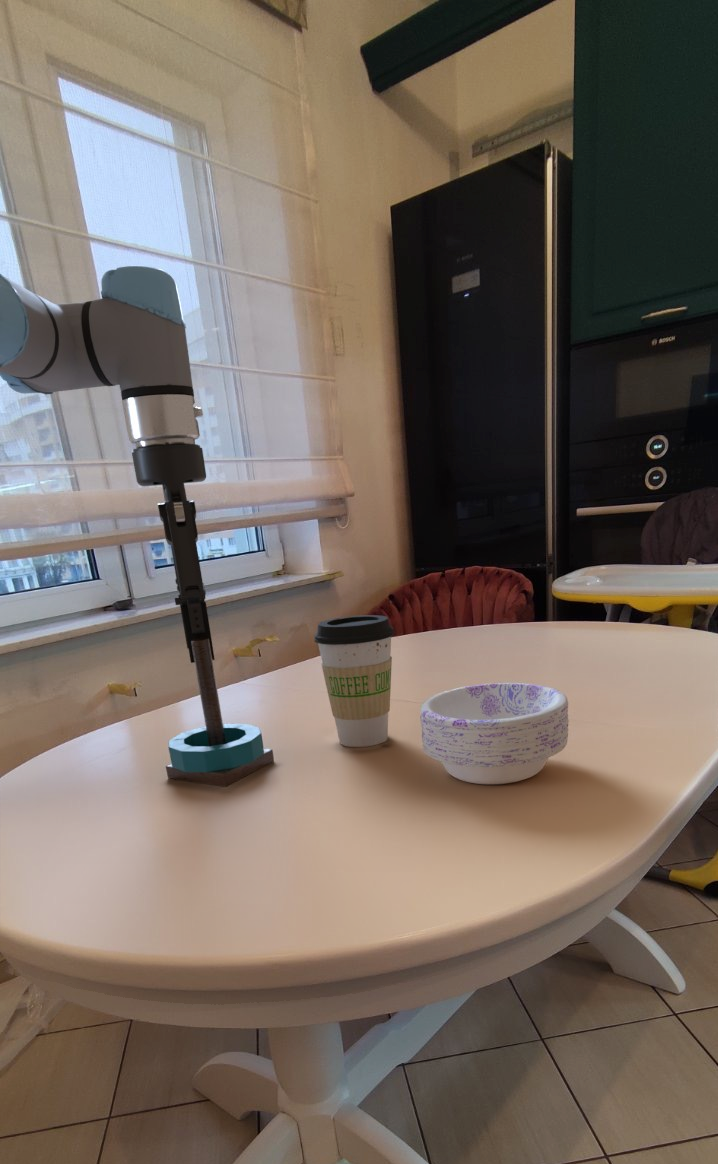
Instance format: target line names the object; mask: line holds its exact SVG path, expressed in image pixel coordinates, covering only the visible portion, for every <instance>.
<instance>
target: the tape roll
mask: <svg viewBox="0 0 718 1164" xmlns="http://www.w3.org/2000/svg"><path fill="white" fill-rule="evenodd" d="M223 728H224V734H225V740H226V744H222V745H215V746H209V742H208V737H207V731H206V726H201V727H197V728H194V729H190V730H187V731H183V732H181V733H179V734H176V736H174V737H172V738H171V739H169V740H168V753H169V757H170V764H172V767H173V768H176V769H179V770H181V771H184V772H213V771H219V770H226V769H232V768H236V767H238V766H241V765H244V764H247V763H250V762H253V761H255V760H256V759H257V758H259V757H260V756H261V755H262V754H264V749H265V748H264V741H263V735H262V734H263V733H262V731H261V728H260V727H259V726H257V725H256V726H255V725H251V724H248V723H223Z"/></svg>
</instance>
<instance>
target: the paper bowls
mask: <svg viewBox="0 0 718 1164" xmlns="http://www.w3.org/2000/svg"><path fill="white" fill-rule="evenodd" d="M419 712H420V724H421V742H422V750H423V752H424V753H425V754H426V755H427V756H428V757H430V758H432V759H433V760H435V761H439V762H441V763H442V766H443V767H444V769H445V770H446V771H447V773H448V774H449V775H450V776H452V777H454V778H455V779H457V780H460V781H462V782H466V783H471V784H477V785H504V784H512V783H516V782H517V783H518V782H521V781H524V780H527V779H529V778H531V777H533V776H535V775H537V774H538V773H539V772H541V771H542V770H543V768H545V765H546V764H547V761H548V760H549V758H551V757H553V756H555V755H557V754H559V753H560V752H562V751H563V750H564V749H565V748H566V747H567V745H568V739H569V738H568V737H569V700H568V697H567V695H566V694H565V693H564V692H562V691H560V690H559V689H556V688H553V687H550V686H546V685H540V684H532V683H522V682H521V683H520V682H497V683H495V682H493V683H481V684H480V683H479V684H474V685H473V684H472V685H467V686H461V687H456V688H452V689H449V690H444V691H442V692H438V693H436V694H434V695H432V696H430V697H428V698H427V699H426V700H424V701H423V703H422V705H421V706H420V709H419Z"/></svg>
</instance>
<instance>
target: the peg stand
mask: <svg viewBox="0 0 718 1164" xmlns="http://www.w3.org/2000/svg"><path fill="white" fill-rule="evenodd" d="M191 644H192V650H193V656H194V667H195V673H196V678H197V679H196V680H197V684H198V690H199V696H200V702H201V708H202V714H203V719H204V725H205V727H206V731H207V737H208V742H209V746H215V745H222V744H226V740H225V734H224V728H223V724H224V722H223V717H222V710H221V704H220V703H221V702H220V698H219V693H218V685H217V679H216V674H215V668H214V660H212V654H211V648H210V642H209V638H198V639H193V640H191ZM273 751H274V750H273V749H272V748H264V754H262V755H261V756H260V757H259V758H257V759H256V760H255V761H253V762H250V763H247V764H244V765H241V766H238V767H236V768H232V769H226V770H219V771H213V772H184V771H181V770H179V769H176V768H173V767H172V763H170V764H167V765H166V766H165V770H166V775H167V778H168V779H171V780H178V781H185V782H192V783H199V784H206V785H207V784H208V785H211V786H212V785H214V786H219V787H220V786H221V787H228V786H229V785H232V784H233V783H236V782H237V781H239V780H240V779H243V778H244V777H246V776H248V775H250V774H252V773H254V772H256V771H258V770H260V769H262V768H264V767H265V766H268V765H269V764H271V763H273V762H274V761H275V758H274V752H273Z"/></svg>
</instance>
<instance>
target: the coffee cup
mask: <svg viewBox="0 0 718 1164" xmlns="http://www.w3.org/2000/svg"><path fill="white" fill-rule="evenodd" d="M395 634H396V633H395V631H394V627H393V626H391V624H390V621H389V617H388V616H385V615H379V614H378V615H377V614H376V615H375V614H367V615H365V614H364V615H363V614H362V615H351V616H343V617H336V618H331V619H326V620H323V621H320V622H319V623H318V624H317V631H316V633H315V635H314V638H313V641H314V643H316V644H317V645H318V650H319V655H320V658H321V669H322V673H323V677H324V682H325V687H326V691H327V695H328V700H329V704H330V705H329V706H330V709H331V713H332V716H333V717H334V718H333V719H334V722H335V727H336V732H337V736H338V740H339V743H340V744H341V745H342V746H345V747H350V748H364V747H365V748H366V747H372V746H377V745H380V744H383V743H384V742H386V741H387V740H388V738H389V737H388V733H389V732H388V731H389V713H390V710H391V688H392V666H393V665H392V664H393V663H392V661H393V657H392V656H391V654H392V653H391V652H392V651H391V650H392V637H393V636H395Z"/></svg>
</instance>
